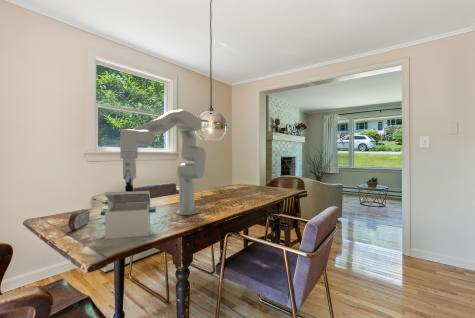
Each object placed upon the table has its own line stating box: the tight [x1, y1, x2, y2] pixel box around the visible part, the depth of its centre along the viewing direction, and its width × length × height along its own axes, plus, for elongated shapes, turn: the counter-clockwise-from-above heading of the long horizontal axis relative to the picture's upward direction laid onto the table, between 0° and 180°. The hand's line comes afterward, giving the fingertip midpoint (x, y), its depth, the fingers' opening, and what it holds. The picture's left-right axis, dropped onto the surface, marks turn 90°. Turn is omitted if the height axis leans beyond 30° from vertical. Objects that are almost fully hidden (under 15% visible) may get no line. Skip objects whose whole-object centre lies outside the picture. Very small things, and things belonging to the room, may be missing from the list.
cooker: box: [100, 202, 157, 240], centre depth 120 cm, size 24×18×12 cm
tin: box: [67, 209, 90, 231], centre depth 125 cm, size 15×3×8 cm, turn 5°
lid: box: [104, 190, 152, 204], centre depth 120 cm, size 19×19×3 cm
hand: (129, 193), depth 117 cm, fingers closed
